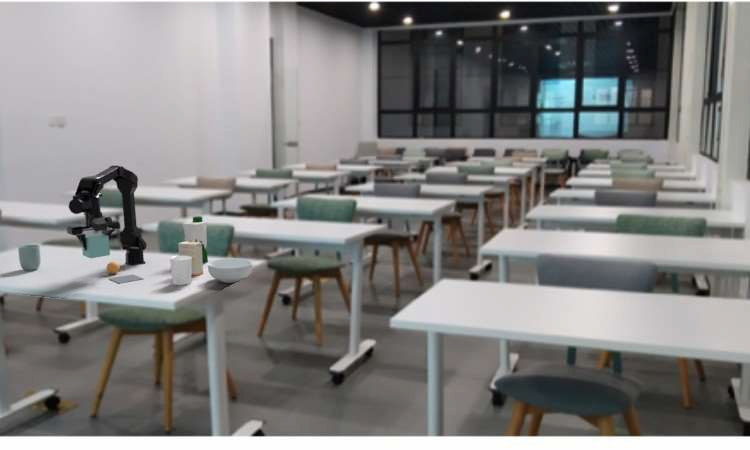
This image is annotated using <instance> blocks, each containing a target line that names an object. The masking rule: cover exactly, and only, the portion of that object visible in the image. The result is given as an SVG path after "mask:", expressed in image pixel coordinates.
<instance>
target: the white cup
mask: <svg viewBox="0 0 750 450" xmlns="http://www.w3.org/2000/svg"><path fill="white" fill-rule="evenodd" d="M169 262H170V271H171V278H172V284H173V285H175V286H185V284H186V285H189V283H190V284H191V283H192V275H191V271H192V257H191V256H179V255H176V256H171V257H170V258H169Z"/></svg>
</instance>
